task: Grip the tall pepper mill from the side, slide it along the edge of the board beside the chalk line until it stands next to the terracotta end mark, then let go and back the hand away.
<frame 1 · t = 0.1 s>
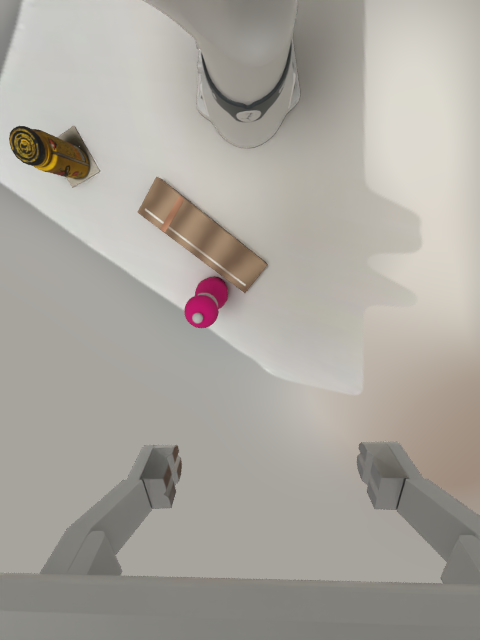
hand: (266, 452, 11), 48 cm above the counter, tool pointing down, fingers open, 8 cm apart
board: (206, 238, 53), on the counter
pepper mill: (214, 289, 58), on the counter
condiment: (74, 158, 49), on the counter
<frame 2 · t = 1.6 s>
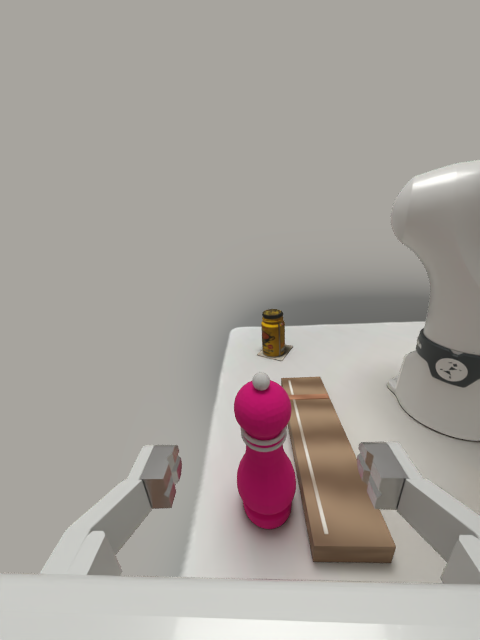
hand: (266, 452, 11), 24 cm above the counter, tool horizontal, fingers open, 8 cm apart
board: (317, 446, 38), on the counter
pepper mill: (267, 502, 31), on the counter
condiment: (275, 351, 67), on the counter
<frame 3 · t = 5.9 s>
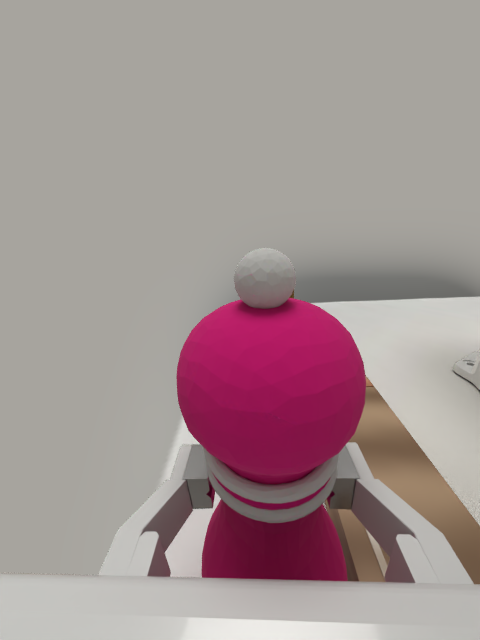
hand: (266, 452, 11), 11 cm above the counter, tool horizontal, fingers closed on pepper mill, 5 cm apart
board: (362, 469, 21), on the counter
pepper mill: (273, 602, 14), on the counter, touching gripper
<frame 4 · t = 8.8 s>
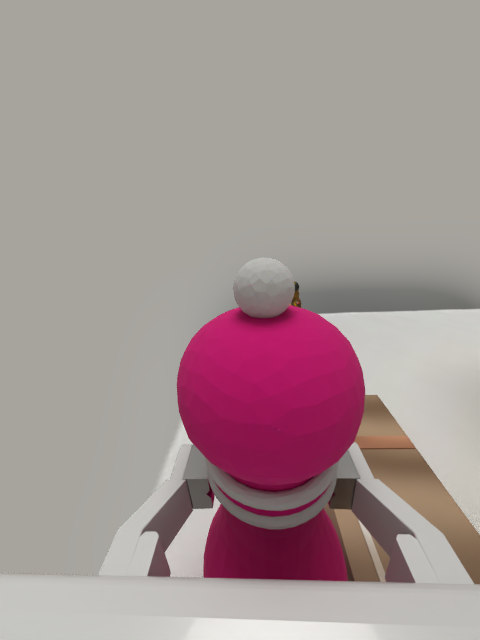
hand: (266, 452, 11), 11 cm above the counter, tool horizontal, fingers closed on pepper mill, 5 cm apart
board: (415, 596, 14), on the counter
pepper mill: (274, 603, 14), on the counter, touching gripper
when the fingers open (11 cm above the counter, at t = 11.9 s): pepper mill stays where it is, on the counter.
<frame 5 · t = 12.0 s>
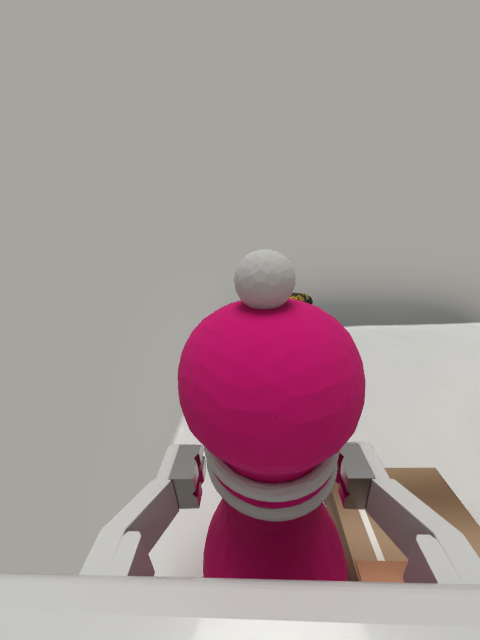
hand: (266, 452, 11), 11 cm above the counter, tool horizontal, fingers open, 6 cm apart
pepper mill: (274, 601, 14), on the counter
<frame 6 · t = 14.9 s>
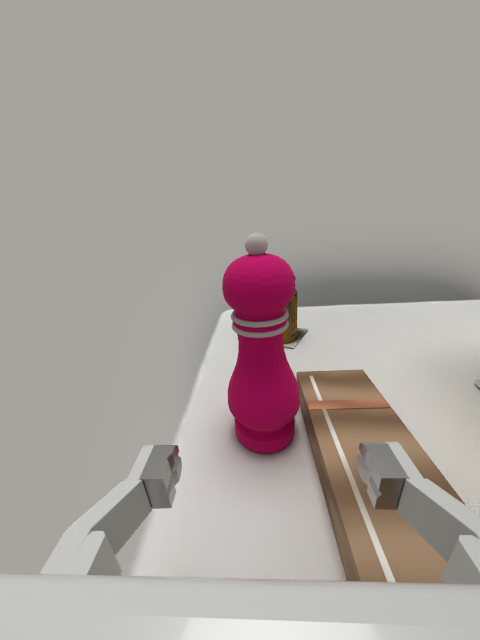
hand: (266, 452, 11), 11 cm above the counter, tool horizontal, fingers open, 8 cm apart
board: (383, 512, 18), on the counter
pepper mill: (264, 430, 26), on the counter
condiment: (283, 336, 46), on the counter
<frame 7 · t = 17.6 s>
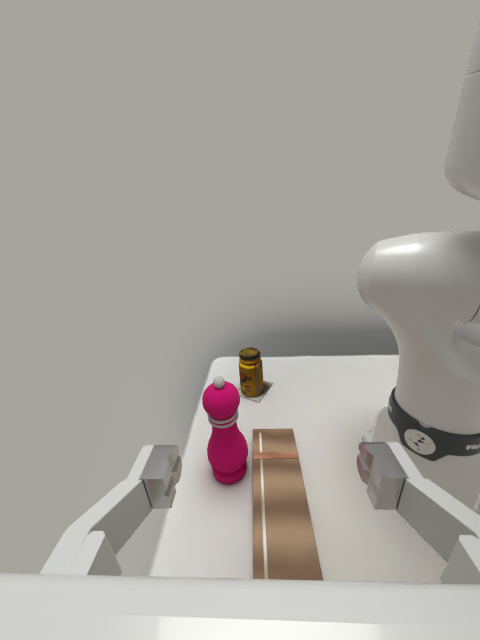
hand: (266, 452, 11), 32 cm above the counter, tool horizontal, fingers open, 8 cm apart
board: (280, 517, 36), on the counter
pepper mill: (229, 468, 44), on the counter
condiment: (254, 389, 65), on the counter
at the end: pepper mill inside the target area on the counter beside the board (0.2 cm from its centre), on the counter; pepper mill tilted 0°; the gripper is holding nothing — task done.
